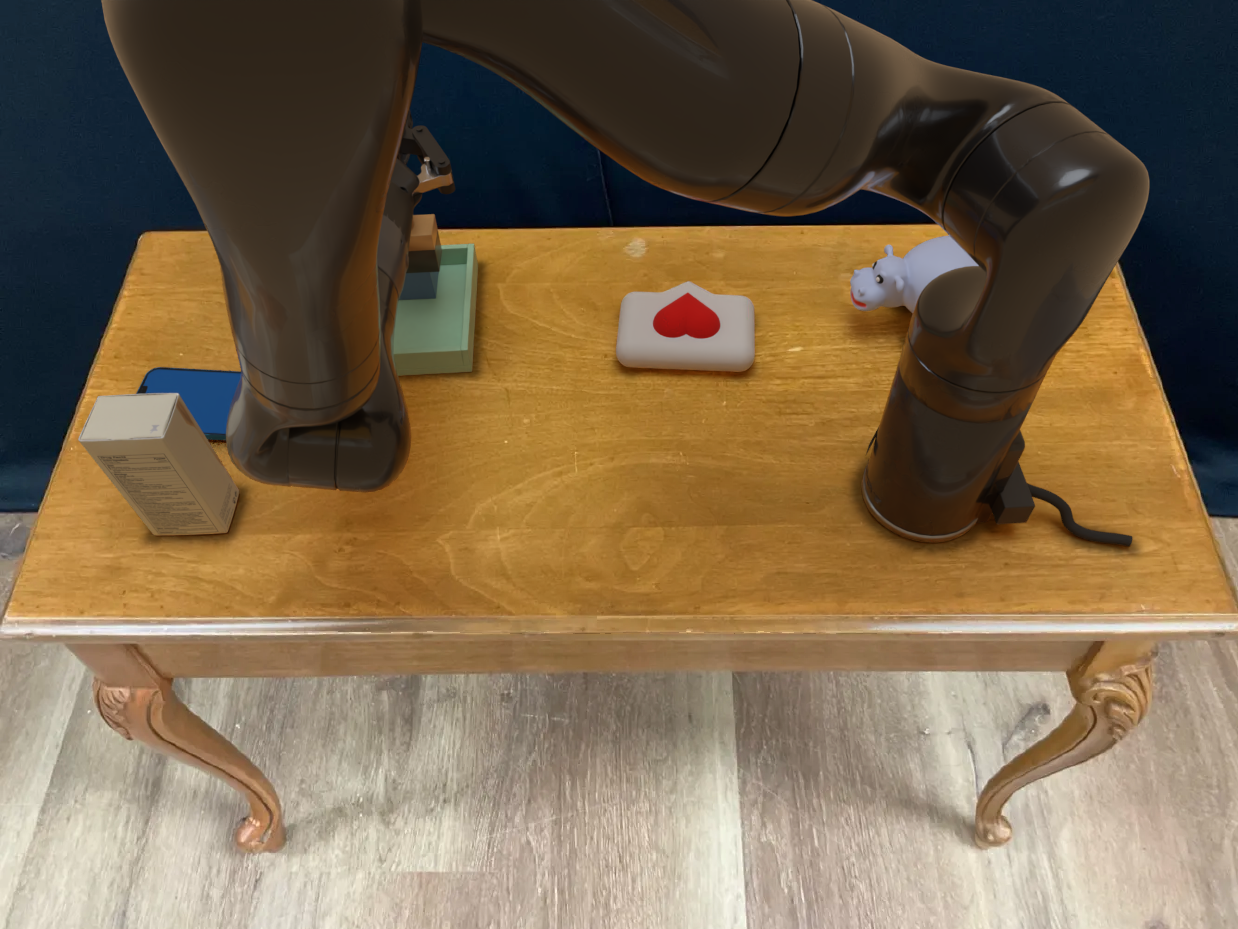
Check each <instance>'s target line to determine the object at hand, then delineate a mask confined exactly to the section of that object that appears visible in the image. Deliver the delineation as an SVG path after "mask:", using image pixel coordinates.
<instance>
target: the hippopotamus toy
mask: <svg viewBox="0 0 1238 929" xmlns="http://www.w3.org/2000/svg"><path fill="white" fill-rule="evenodd" d="M883 252H884V254H885V255H886V256H885V257H883V258H879V259H877V260H876V261H874V262H873V263H872V264H871V267H870V266H867V267H863V268H860V269H854V270H853V274H852V276H851V277H850V280H849V281H850V282H849V283H850V290H849V291H850V292H849V294H850V301H851V303H852V305H853V307H854V308H855V309H856V310H858V311H861V312H872V311H876V310H878V309H879V308H882V307H883V308H898V307H905V308H906V309H907V310H908V311H909V312H910V313H912V314H913V311H914V307H915V305H916V302H917V299H918V297H919V296H920V294H921V292H922V291H923V289H924V288H925V287H926V286H927V285H928V284H929V283H930V282H931V281H932V280H933V279H935V278H936V277H938V276H939V275H941V274H943V273H945V272H948V271H951V270H954V269H957V268H962V267H968V266H979V265H978V264H977V263H976V262H975V261H974V260H973V259H972V258H971V257H970V256H969V255H968V254H967V253H966V252H965V251H964V250H963V249H962V248H961V247H960V246H959V245H958V244H957V243H956V242H955V241H954V240H953V239H952V238H951V237H950V236H949V235H942V236H937V237H934V238H931V239H928V240H925V241H923V242H921V243H919V244H917V245H915V246H914V247H913V248H911V249H910V250H909V251H908V252H907V253H906V254H905V255H904V256H903V257H901V256H896V255H894V247H893V245H891V244H886V245H885V246H884V248H883Z"/></svg>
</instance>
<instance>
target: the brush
mask: <svg viewBox="0 0 1238 929" xmlns="http://www.w3.org/2000/svg"><path fill="white" fill-rule="evenodd" d="M437 224H438V223H437V219H436V215H435V214H434V213H431V214H430V213H429V214H413V220H412V228H411V235H410V243H409V252H408V257H409V265H408V269H407V272H406V273H425V272H439V271H440V264H441V257H442V247H441V245H442V243H441V239H440V234H439V228H438V225H437Z"/></svg>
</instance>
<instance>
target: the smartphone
mask: <svg viewBox="0 0 1238 929" xmlns="http://www.w3.org/2000/svg"><path fill="white" fill-rule="evenodd" d="M240 379H241V370H240V371H238V370H223V369H221V370H220V369H202V368H201V369H200V368H187V367H186V368H184V367H165V366H158V367H157V366H156V367H154V368H151V369H150V370H148V371H147V372H146V373H145V374H144V377H143V379H142V381H141V383H140V384H139V387H138V389H137V391H136V392H135V394H147V393H178V394H179V395H180V397H181V398H182V400H183V401H184V403H185V404H186V406H187V408H188V409H189V411H190V413H191V414H192V416H193V417H194V419H195V420H196V422H197V424H198V425H199V427H200V428H201V430H202V432H203V433H204V435H205V436H206V438H207V440H213V441H226V425H227V418H228V413H229V409H230V405H231V402H232V399H233V396H234V394H235V391H236V388H237V386H238V384H239V381H240Z"/></svg>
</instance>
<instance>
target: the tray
mask: <svg viewBox="0 0 1238 929" xmlns="http://www.w3.org/2000/svg"><path fill="white" fill-rule="evenodd" d="M441 247H442V257H441V264H440V271H439V274H438V283H437V293H436V298H435V299H413V300H399V302H398V308H397V316H396V324H395V332H394V359H395V365H396V370H397V374H398V377H399V376H419V375H435V374H454V373H455V374H456V373H472V372H473V365H474V348H475V347H474V346H475V332H476V331H475V329H476V312H477V297H478V296H477V294H478V293H477V292H478V278H479V276H478V275H479V263H478V257H477V251H476V246H475V243H457V244H456V243H455V244H441Z"/></svg>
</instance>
